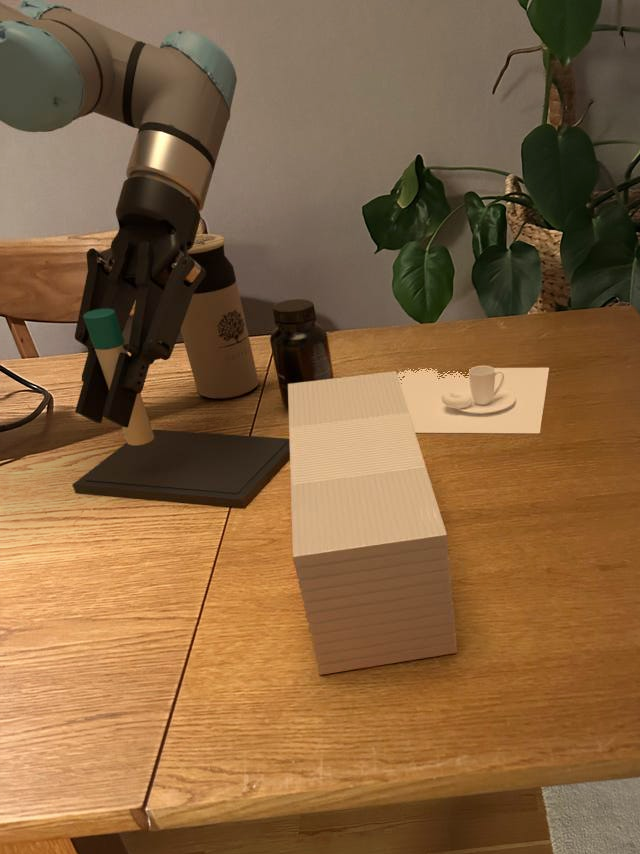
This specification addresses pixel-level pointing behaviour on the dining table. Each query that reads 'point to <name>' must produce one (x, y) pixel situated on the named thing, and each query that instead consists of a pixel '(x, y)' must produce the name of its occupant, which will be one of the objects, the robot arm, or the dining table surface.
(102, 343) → the marker
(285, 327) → the supplement bottle
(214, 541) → the dining table surface
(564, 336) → the dining table surface
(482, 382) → the teacup and saucer
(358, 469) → the stack of papers
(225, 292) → the travel mug
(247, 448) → the black cutting board
